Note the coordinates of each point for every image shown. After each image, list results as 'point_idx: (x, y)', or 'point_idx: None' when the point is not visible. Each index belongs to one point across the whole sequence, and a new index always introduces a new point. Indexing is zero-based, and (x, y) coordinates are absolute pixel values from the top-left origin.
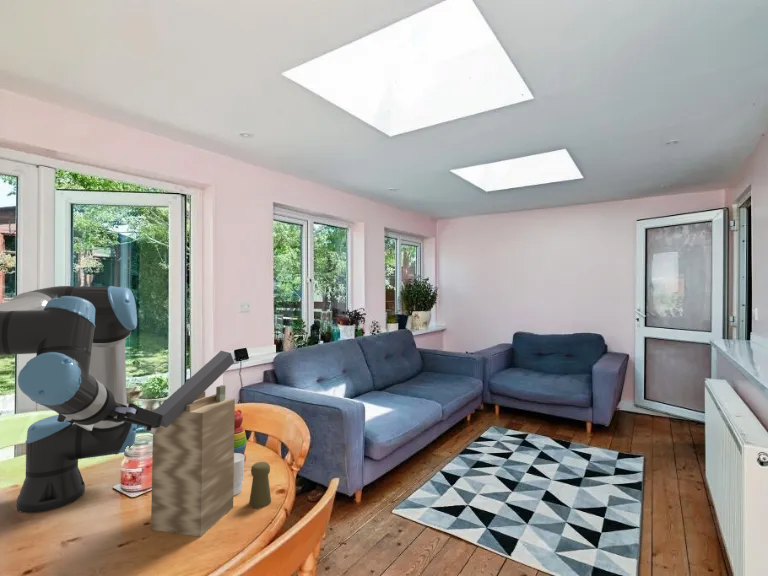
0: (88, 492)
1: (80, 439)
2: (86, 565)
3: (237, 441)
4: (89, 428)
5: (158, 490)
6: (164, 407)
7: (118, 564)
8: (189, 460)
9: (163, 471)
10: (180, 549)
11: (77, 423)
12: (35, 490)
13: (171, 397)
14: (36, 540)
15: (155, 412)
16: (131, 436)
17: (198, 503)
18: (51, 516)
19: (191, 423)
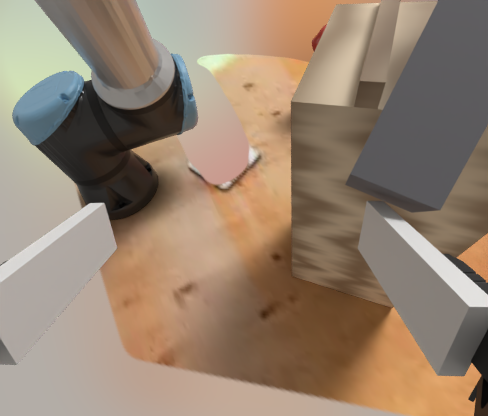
0: (162, 177)
1: (110, 129)
2: (235, 368)
3: None
4: (103, 260)
5: (307, 252)
6: (421, 128)
7: (287, 375)
8: None
9: (322, 236)
10: (375, 344)
11: (5, 362)
12: (97, 199)
13: (433, 48)
14: (139, 285)
15: (377, 165)
16: (191, 110)
17: None
18: (137, 228)
19: (486, 164)
